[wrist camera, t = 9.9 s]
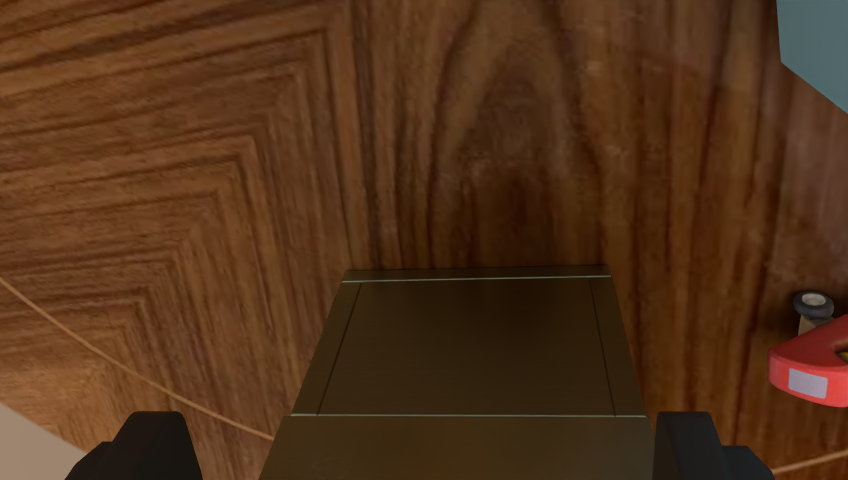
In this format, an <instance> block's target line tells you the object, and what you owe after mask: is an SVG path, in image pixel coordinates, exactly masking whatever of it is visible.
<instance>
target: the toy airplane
mask: <svg viewBox="0 0 848 480" xmlns="http://www.w3.org/2000/svg"><path fill="white" fill-rule="evenodd" d="M793 307H794V309H795V310H796V311H797V312H798V313H799V314H801V319H800V325H799V332H798V336H796V337H794V338H792V339H790V340H788V341H786V342H784V343H782V344H779V345H777V346H775V347H773V348H770V349H769V350H768V381H769V382H770V383H772V384H773V385H774V386H776V387H777V388H779V389H781V390H783V391H785V392H787V393H789V394H792V395H794V396H797V397H799V398H803V399H805V400H809V401H812V402H815V403H819V404H823V405H828V406H834V407H847V406H848V314H845V315H843V316H841V317H839V318H836V319H834V318H832V317H831V316H830V315H831V314H832V313H833V310H834V304H833V301H832V299H830V298H829V297H827V296H826V295H824V294H823V293H820V292H815V291H806V292H801V293H798V294H797V295H796V296H795V297H794V299H793Z"/></svg>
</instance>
